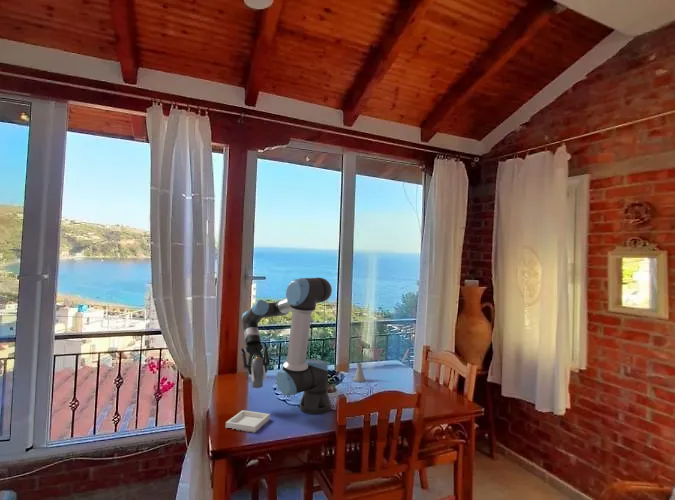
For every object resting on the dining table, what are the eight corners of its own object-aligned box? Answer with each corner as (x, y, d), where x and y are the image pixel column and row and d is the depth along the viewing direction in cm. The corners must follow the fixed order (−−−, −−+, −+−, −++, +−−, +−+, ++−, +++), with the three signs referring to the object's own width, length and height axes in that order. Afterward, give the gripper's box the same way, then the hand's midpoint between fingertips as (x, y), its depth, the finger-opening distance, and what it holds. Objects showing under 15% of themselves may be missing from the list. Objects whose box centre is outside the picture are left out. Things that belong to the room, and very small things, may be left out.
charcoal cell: (264, 385, 196) (264, 356, 196) (259, 388, 191) (259, 358, 192) (255, 384, 198) (255, 355, 198) (250, 387, 193) (250, 358, 193)
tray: (269, 419, 183) (269, 414, 183) (254, 432, 169) (254, 426, 169) (242, 415, 187) (242, 410, 187) (225, 428, 173) (225, 422, 173)
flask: (361, 383, 234) (361, 366, 234) (350, 381, 238) (351, 364, 238) (367, 379, 240) (367, 363, 240) (356, 377, 244) (357, 361, 244)
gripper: (268, 340, 212) (276, 381, 197) (233, 343, 205) (239, 386, 190) (271, 332, 208) (279, 373, 192) (235, 335, 201) (241, 377, 185)
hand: (259, 379), depth 191 cm, fingers closed on charcoal cell, 5 cm apart
